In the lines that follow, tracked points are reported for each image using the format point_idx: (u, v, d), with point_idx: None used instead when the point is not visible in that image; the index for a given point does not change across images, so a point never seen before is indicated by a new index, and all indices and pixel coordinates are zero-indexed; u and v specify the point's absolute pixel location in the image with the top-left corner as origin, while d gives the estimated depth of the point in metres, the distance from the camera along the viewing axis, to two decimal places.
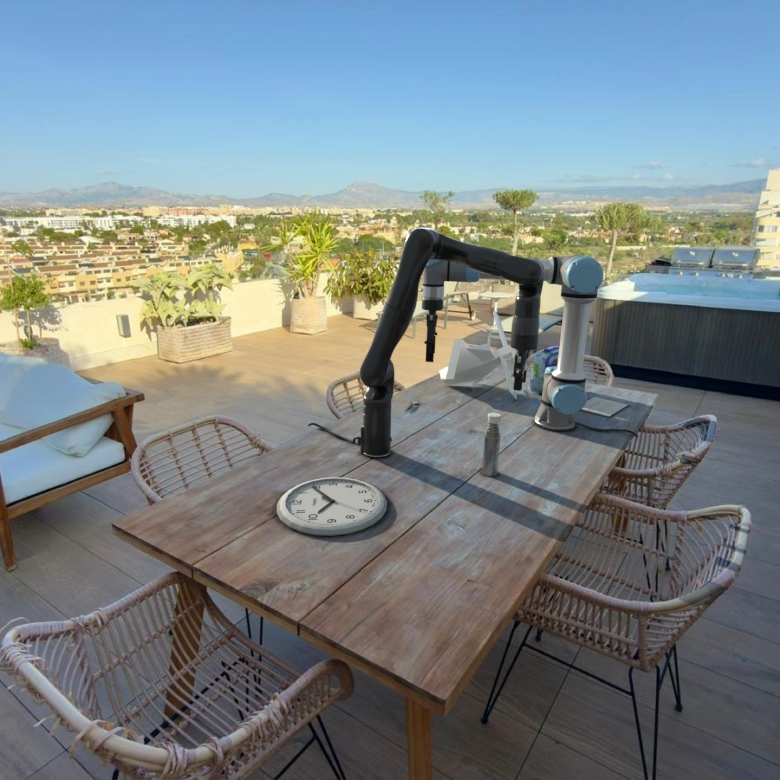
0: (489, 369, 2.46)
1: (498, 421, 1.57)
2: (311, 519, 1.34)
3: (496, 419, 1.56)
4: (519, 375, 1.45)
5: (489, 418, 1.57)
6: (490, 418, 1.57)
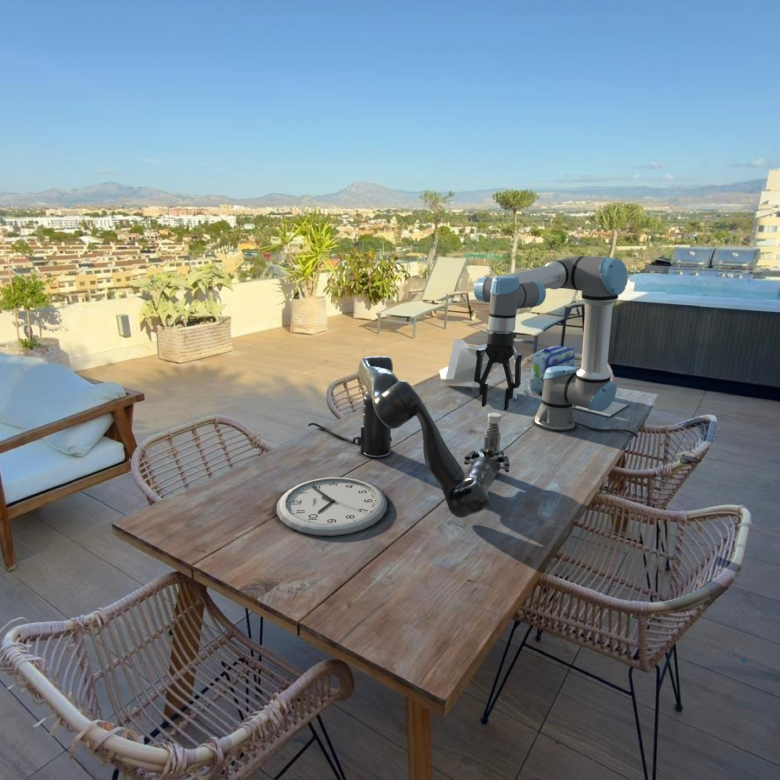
0: None
1: (498, 421, 1.57)
2: (311, 519, 1.34)
3: (496, 419, 1.56)
4: None
5: (489, 418, 1.57)
6: (490, 418, 1.57)
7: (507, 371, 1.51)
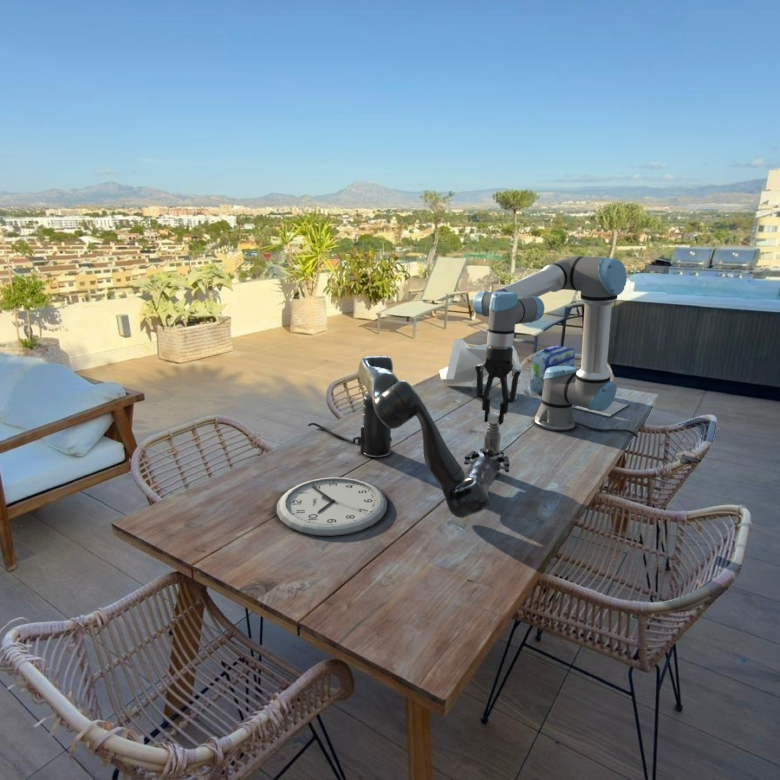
0: None
1: (498, 421, 1.57)
2: (311, 519, 1.34)
3: (496, 419, 1.56)
4: None
5: (489, 418, 1.57)
6: (490, 418, 1.57)
7: (504, 386, 1.53)
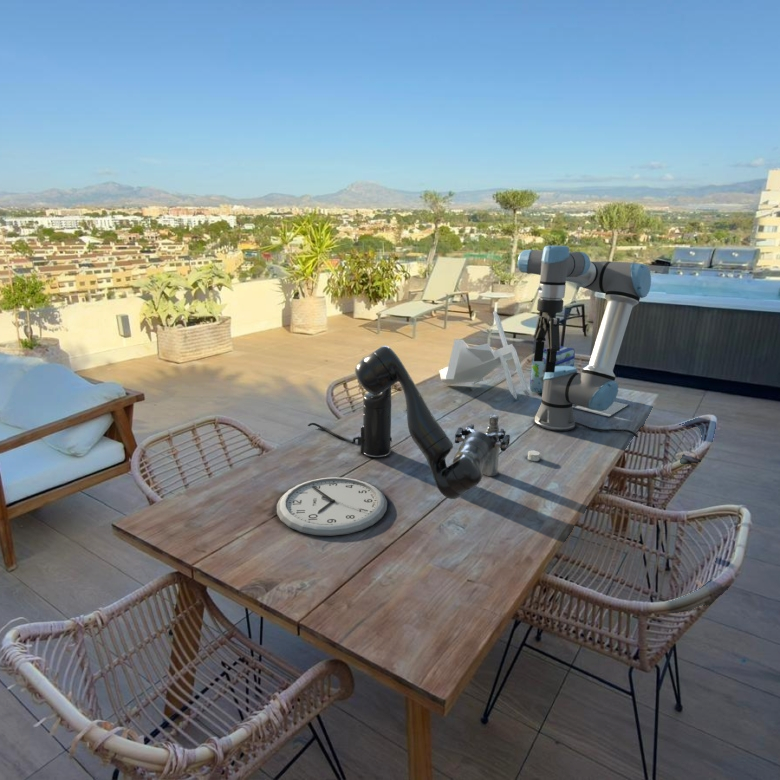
0: (489, 369, 2.46)
1: None
2: (311, 519, 1.34)
3: None
4: None
5: (538, 457, 1.72)
6: (539, 456, 1.72)
7: None
